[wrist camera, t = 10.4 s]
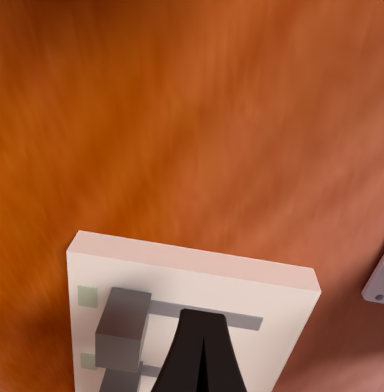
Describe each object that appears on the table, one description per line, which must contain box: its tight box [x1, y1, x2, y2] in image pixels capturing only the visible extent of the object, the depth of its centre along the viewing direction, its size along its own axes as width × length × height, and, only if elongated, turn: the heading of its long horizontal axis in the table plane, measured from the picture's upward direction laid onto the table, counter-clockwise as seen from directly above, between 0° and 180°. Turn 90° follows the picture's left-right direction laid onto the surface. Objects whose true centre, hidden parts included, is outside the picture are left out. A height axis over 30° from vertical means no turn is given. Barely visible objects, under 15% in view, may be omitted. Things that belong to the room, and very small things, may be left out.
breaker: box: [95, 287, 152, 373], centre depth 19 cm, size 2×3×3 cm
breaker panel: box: [66, 230, 321, 392], centre depth 25 cm, size 15×21×2 cm
